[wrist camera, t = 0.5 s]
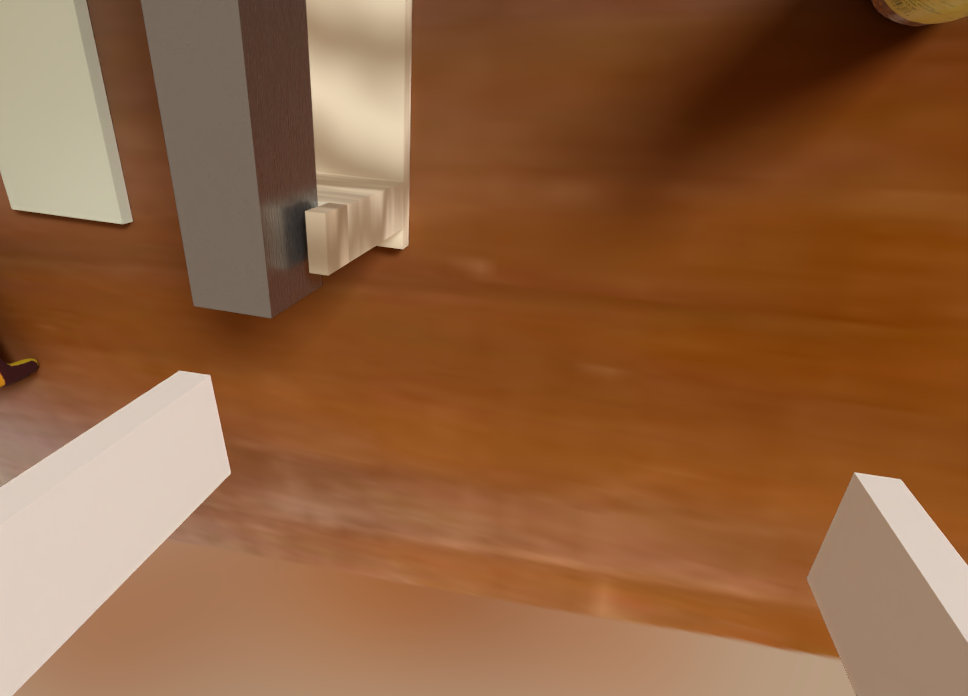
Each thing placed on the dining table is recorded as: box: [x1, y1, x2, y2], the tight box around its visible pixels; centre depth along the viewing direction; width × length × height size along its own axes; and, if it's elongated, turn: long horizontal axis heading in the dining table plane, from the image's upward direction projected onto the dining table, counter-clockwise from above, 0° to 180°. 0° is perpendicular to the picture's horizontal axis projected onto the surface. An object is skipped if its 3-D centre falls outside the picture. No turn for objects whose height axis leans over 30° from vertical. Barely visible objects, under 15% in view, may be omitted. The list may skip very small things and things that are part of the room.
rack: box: [305, 0, 412, 275], centre depth 27 cm, size 26×7×12 cm, turn 175°
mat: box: [0, 0, 133, 224], centre depth 35 cm, size 28×10×1 cm, turn 175°
